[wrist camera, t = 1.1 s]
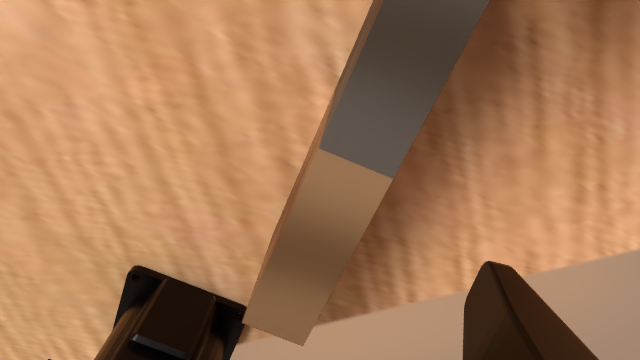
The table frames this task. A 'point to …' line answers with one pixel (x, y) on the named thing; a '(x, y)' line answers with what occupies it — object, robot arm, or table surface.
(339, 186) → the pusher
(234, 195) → the table surface
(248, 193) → the table surface
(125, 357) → the robot arm
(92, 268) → the table surface
